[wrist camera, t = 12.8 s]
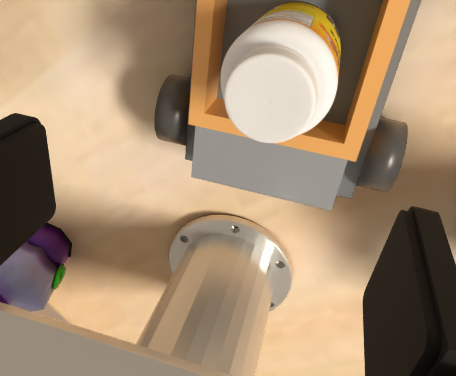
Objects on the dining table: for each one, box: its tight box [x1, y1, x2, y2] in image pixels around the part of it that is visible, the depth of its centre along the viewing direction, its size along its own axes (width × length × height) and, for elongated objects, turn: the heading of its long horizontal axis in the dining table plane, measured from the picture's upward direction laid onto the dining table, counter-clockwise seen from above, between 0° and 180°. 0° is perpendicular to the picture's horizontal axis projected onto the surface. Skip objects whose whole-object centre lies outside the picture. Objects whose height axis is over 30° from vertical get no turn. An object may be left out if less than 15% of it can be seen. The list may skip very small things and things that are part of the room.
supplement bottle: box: [220, 1, 341, 143], centre depth 21 cm, size 6×6×10 cm
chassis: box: [155, 0, 421, 211], centre depth 26 cm, size 20×17×6 cm
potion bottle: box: [0, 223, 72, 312], centre depth 42 cm, size 9×9×12 cm
